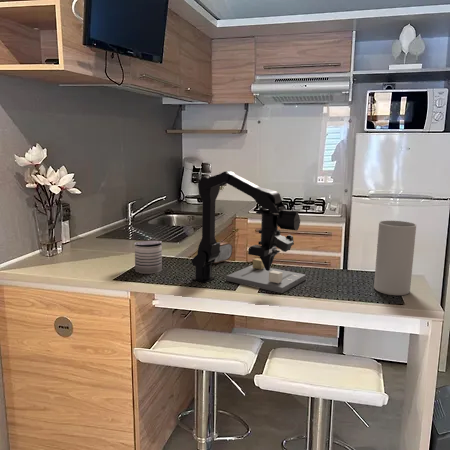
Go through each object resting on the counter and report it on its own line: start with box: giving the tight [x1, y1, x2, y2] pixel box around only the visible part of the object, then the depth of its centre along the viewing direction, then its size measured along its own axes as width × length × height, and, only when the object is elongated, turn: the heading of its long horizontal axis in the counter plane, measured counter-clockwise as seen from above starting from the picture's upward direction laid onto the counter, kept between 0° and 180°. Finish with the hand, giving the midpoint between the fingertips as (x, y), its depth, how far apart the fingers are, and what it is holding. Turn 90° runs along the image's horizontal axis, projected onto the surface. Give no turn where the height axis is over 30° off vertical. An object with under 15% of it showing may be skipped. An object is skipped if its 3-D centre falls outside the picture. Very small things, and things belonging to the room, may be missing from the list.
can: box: [133, 240, 163, 275], centre depth 190 cm, size 11×11×12 cm
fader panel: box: [226, 264, 307, 294], centre depth 179 cm, size 20×24×2 cm
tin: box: [213, 241, 233, 264], centre depth 205 cm, size 15×3×8 cm, turn 141°
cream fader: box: [269, 270, 283, 283], centre depth 170 cm, size 3×4×4 cm
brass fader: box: [252, 257, 265, 269], centre depth 187 cm, size 3×4×4 cm
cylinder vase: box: [373, 220, 417, 296], centre depth 168 cm, size 12×12×25 cm
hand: (267, 270), depth 164 cm, fingers closed
